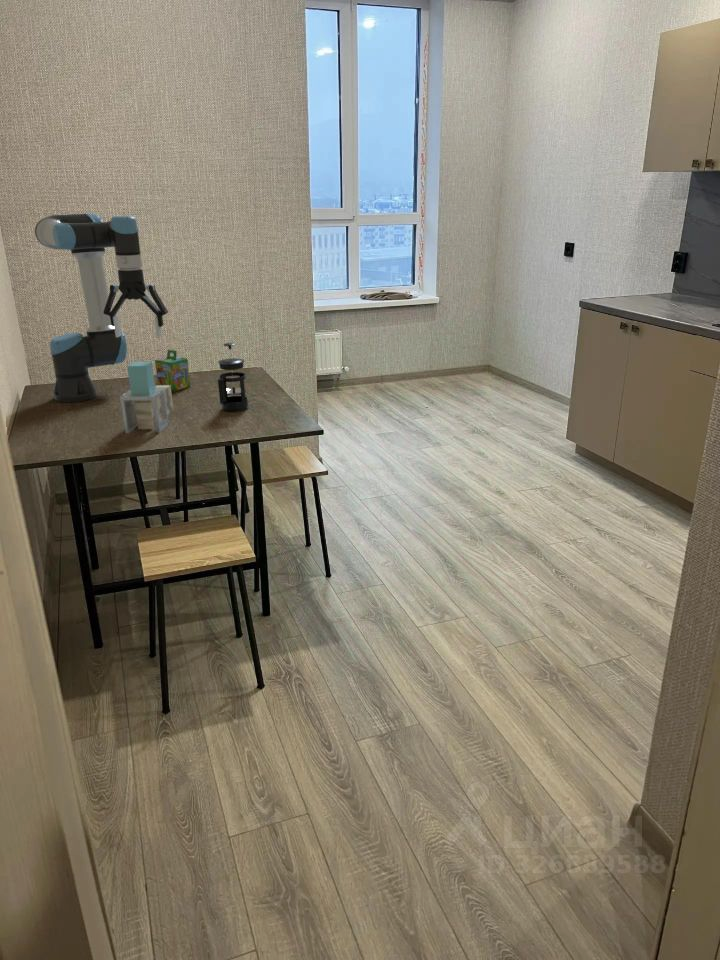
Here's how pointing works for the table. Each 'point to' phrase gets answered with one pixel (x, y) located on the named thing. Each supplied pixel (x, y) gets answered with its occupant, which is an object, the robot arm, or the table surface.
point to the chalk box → (173, 371)
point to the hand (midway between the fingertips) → (138, 336)
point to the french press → (233, 401)
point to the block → (141, 377)
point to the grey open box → (130, 412)
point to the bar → (146, 409)
